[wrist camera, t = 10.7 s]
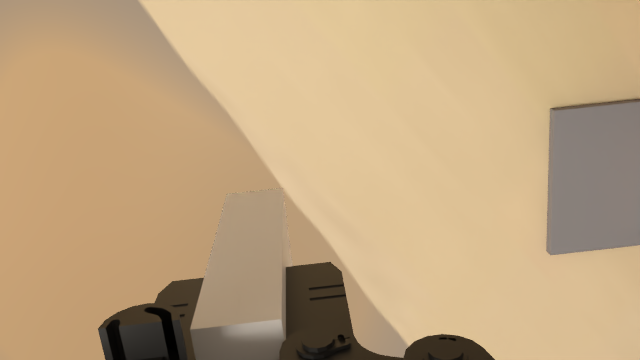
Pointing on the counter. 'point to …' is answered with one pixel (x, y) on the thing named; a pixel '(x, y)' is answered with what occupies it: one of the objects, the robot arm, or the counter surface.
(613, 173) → the mat
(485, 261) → the counter surface
